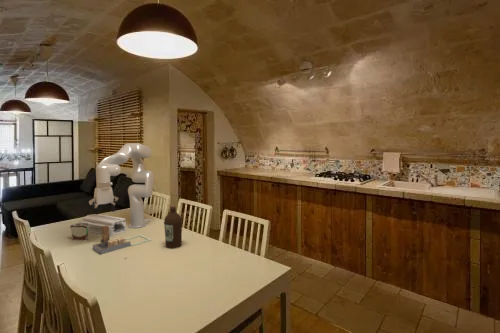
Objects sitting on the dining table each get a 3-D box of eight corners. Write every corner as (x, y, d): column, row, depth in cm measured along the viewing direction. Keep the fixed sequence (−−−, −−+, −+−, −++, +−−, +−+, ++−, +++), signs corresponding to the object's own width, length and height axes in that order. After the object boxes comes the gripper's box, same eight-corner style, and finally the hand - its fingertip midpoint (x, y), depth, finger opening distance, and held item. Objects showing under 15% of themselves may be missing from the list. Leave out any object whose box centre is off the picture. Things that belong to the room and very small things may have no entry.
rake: (106, 242, 179) (105, 224, 178) (111, 244, 174) (110, 226, 173) (101, 243, 177) (100, 225, 176) (106, 246, 172) (105, 227, 171)
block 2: (123, 243, 174) (122, 237, 173) (126, 244, 171) (125, 238, 171) (116, 245, 171) (116, 238, 170) (119, 246, 168) (119, 240, 168)
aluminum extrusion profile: (108, 237, 190) (108, 222, 189) (79, 230, 202) (78, 217, 202) (126, 231, 203) (125, 217, 202) (97, 225, 215) (96, 212, 214)
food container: (94, 237, 188) (93, 222, 187) (88, 240, 182) (87, 225, 181) (77, 236, 189) (76, 222, 188) (70, 239, 183) (69, 224, 182)
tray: (140, 237, 187) (140, 234, 187) (151, 242, 178) (151, 239, 178) (121, 242, 178) (120, 239, 177) (131, 248, 169) (131, 245, 168)
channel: (121, 243, 177) (121, 237, 176) (130, 247, 169) (130, 241, 169) (92, 251, 164) (92, 244, 164) (101, 256, 157) (100, 249, 156)
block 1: (114, 245, 170) (114, 239, 169) (117, 247, 167) (117, 240, 167) (108, 247, 167) (107, 240, 166) (110, 249, 164) (110, 242, 164)
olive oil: (173, 241, 180) (172, 203, 178) (186, 244, 175) (185, 205, 173) (160, 246, 171) (159, 206, 169) (173, 250, 166) (172, 208, 164)
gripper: (115, 183, 181) (116, 209, 183) (85, 186, 168) (87, 214, 170) (120, 184, 176) (121, 211, 178) (90, 187, 163) (91, 216, 165)
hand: (104, 212), depth 174 cm, fingers open, 9 cm apart
